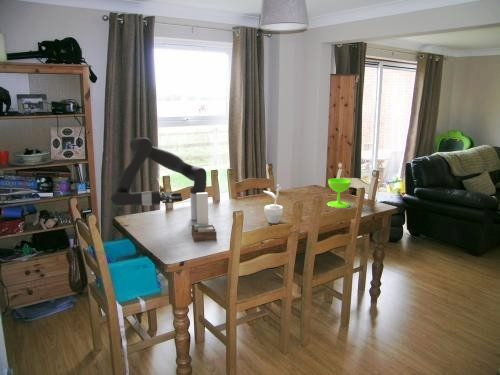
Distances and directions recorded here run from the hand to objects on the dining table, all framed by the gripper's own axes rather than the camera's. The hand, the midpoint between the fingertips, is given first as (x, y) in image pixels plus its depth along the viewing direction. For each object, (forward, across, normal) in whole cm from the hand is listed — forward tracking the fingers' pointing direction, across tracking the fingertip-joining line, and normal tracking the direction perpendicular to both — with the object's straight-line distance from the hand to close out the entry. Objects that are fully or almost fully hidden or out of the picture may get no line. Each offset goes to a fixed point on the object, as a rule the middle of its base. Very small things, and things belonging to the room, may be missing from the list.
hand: (181, 196), depth 211 cm
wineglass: (+113, +38, +21) cm, 121 cm away
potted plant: (+56, +12, +22) cm, 62 cm away
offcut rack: (+11, -4, +22) cm, 25 cm away
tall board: (+11, 0, +20) cm, 23 cm away
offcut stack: (+11, -6, +21) cm, 24 cm away
